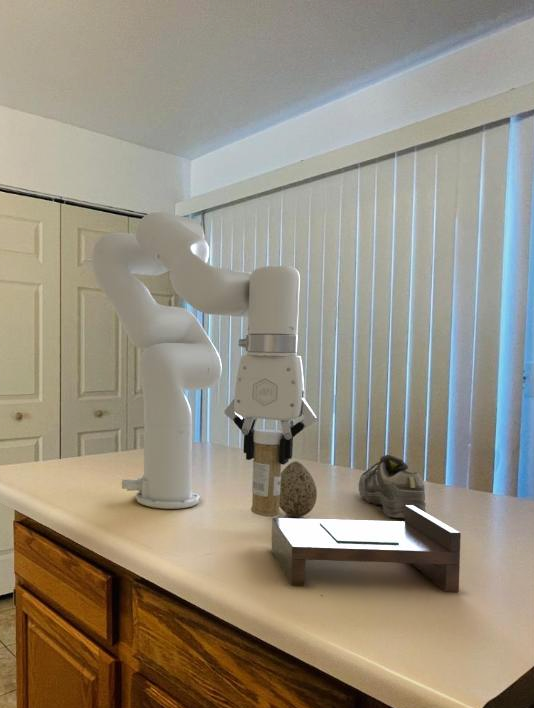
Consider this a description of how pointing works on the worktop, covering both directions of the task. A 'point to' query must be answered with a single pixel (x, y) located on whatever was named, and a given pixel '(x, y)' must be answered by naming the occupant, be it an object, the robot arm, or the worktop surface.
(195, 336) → the robot arm
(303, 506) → the decorative egg
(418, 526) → the shelf
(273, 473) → the sprinkles bottle
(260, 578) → the worktop surface
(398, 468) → the hiking shoe
